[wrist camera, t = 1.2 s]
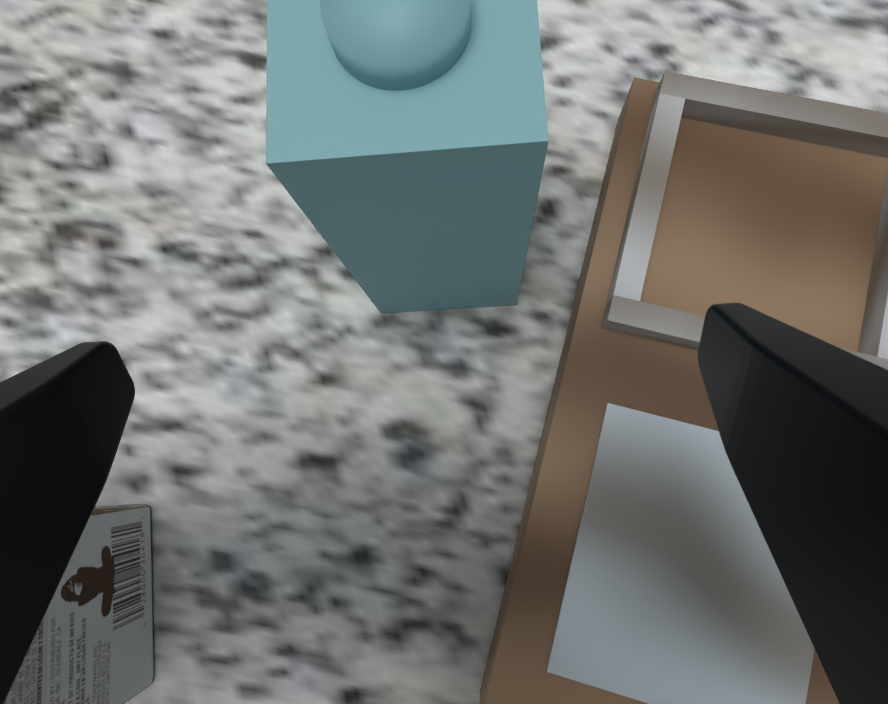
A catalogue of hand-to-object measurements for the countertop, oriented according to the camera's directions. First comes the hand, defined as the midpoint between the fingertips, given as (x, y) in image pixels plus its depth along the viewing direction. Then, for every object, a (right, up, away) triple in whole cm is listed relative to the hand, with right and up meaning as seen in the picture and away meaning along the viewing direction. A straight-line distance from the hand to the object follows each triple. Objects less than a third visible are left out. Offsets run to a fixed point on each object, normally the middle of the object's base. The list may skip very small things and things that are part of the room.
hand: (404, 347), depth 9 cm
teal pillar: (+1, +4, +13) cm, 14 cm away
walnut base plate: (+9, -2, +11) cm, 15 cm away
